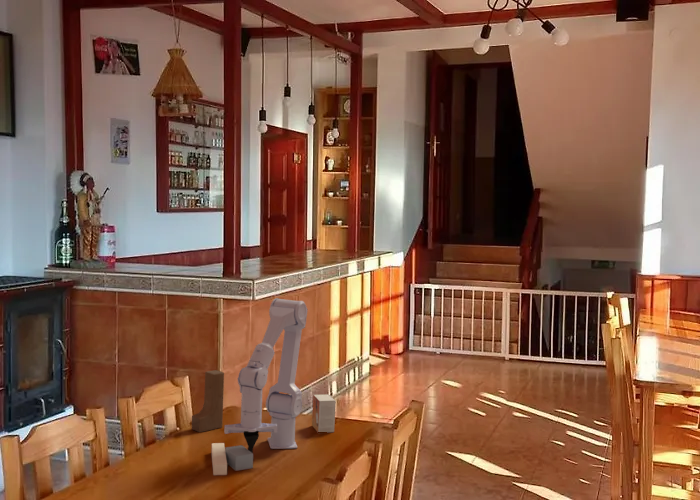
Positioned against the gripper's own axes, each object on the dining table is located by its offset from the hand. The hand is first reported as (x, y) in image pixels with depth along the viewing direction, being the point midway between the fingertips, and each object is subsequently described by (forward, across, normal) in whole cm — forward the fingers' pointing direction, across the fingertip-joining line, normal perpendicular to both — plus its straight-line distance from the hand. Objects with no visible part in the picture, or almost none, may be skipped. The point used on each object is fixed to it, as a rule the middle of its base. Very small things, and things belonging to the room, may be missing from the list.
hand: (250, 457), depth 213 cm
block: (+1, -3, -1) cm, 4 cm away
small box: (+2, +26, +29) cm, 39 cm away
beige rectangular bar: (+1, -9, 0) cm, 9 cm away
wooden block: (+2, -11, +33) cm, 34 cm away
